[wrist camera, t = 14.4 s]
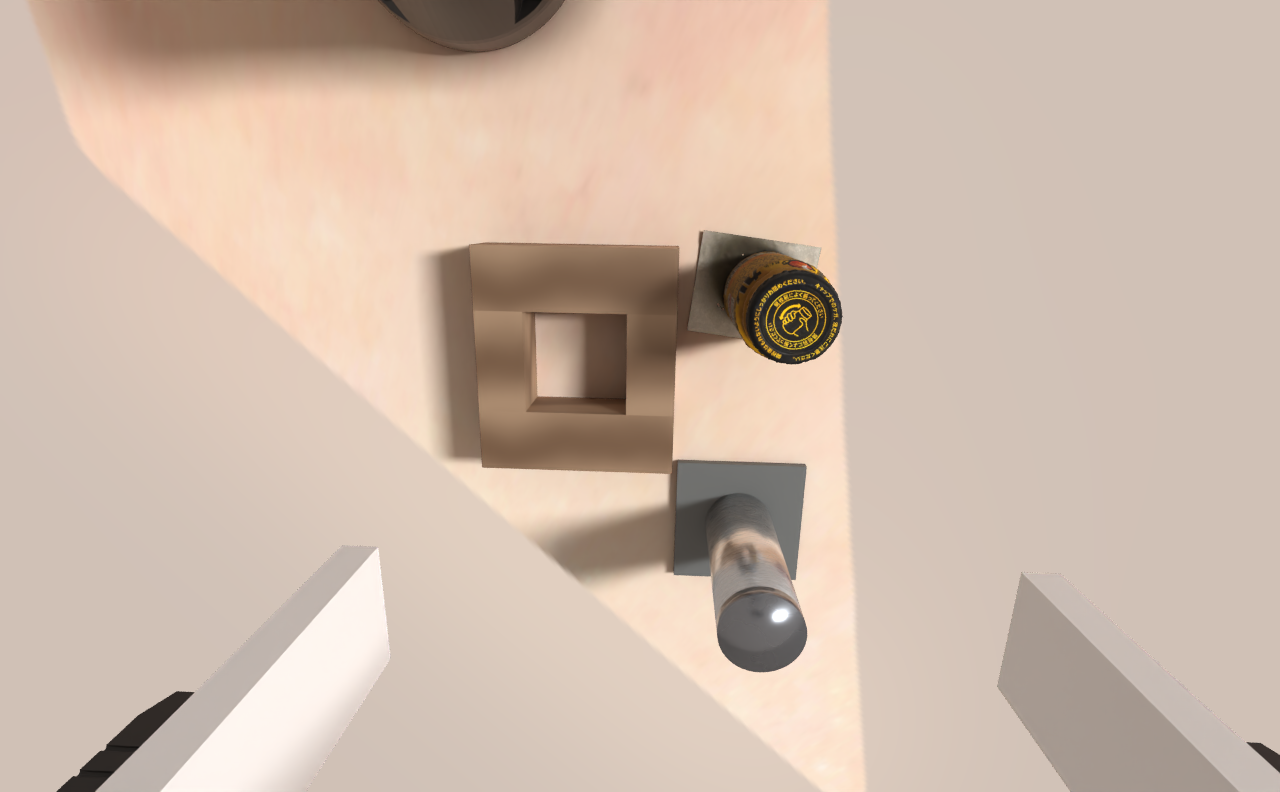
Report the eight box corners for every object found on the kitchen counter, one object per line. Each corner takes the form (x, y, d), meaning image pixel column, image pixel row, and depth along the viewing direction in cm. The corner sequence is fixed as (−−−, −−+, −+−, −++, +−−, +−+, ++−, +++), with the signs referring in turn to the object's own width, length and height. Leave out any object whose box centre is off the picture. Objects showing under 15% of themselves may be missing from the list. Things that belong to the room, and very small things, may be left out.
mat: (677, 459, 49) (677, 462, 48) (804, 464, 49) (806, 466, 48) (673, 570, 52) (673, 574, 51) (794, 575, 51) (795, 579, 51)
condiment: (799, 346, 46) (842, 388, 35) (686, 329, 46) (692, 366, 35) (820, 247, 44) (874, 257, 33) (703, 229, 44) (715, 233, 33)
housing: (486, 242, 45) (469, 244, 41) (678, 246, 44) (679, 248, 41) (496, 448, 49) (482, 467, 46) (671, 453, 49) (671, 473, 45)
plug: (706, 492, 49) (719, 594, 36) (772, 494, 49) (810, 597, 35) (704, 550, 50) (715, 670, 37) (768, 553, 50) (803, 674, 37)
